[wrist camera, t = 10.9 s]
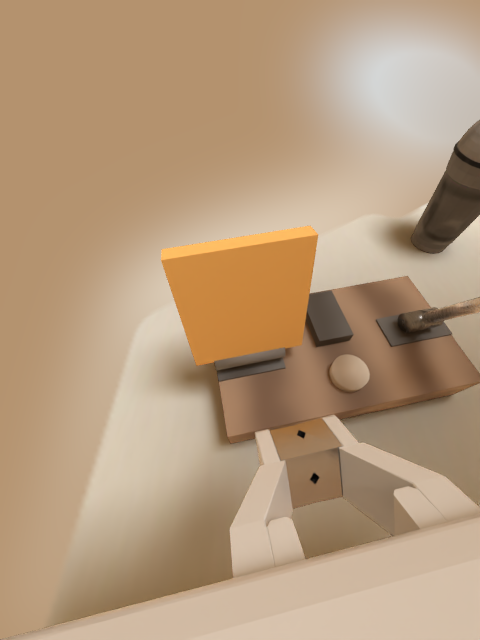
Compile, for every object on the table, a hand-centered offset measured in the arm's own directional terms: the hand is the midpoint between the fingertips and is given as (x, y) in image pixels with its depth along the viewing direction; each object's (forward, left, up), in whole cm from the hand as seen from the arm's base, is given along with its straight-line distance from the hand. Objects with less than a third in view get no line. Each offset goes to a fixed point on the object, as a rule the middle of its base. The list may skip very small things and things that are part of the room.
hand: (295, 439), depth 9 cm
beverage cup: (-29, -22, -16) cm, 40 cm away
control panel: (-8, -8, -15) cm, 19 cm away
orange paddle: (0, -8, -10) cm, 13 cm away
